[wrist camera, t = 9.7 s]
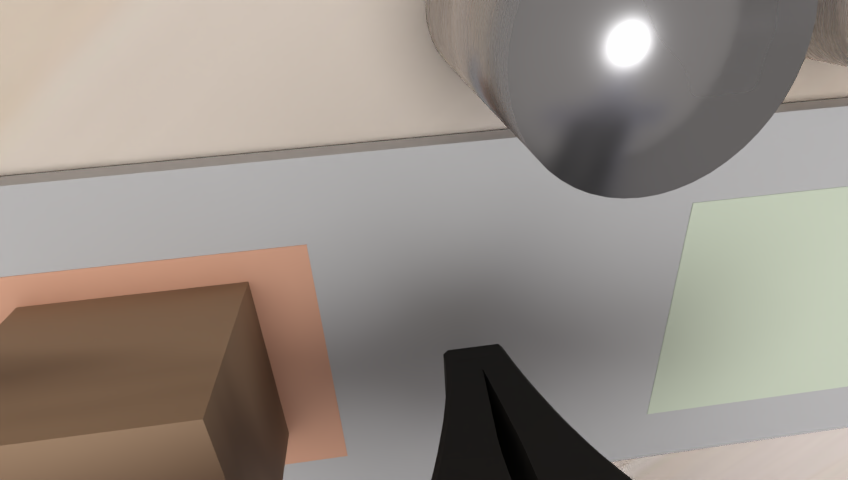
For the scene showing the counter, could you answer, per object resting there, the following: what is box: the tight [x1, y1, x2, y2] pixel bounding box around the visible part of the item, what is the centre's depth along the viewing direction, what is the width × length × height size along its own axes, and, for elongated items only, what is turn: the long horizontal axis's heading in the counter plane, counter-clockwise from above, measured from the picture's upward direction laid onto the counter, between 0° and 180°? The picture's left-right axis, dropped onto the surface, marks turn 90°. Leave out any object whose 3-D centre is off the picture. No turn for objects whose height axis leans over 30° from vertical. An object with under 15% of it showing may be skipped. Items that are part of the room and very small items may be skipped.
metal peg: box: [426, 0, 818, 199], centre depth 7 cm, size 3×3×6 cm
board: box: [0, 98, 848, 480], centre depth 14 cm, size 11×24×1 cm, turn 93°
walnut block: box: [0, 282, 289, 480], centre depth 11 cm, size 5×5×4 cm
